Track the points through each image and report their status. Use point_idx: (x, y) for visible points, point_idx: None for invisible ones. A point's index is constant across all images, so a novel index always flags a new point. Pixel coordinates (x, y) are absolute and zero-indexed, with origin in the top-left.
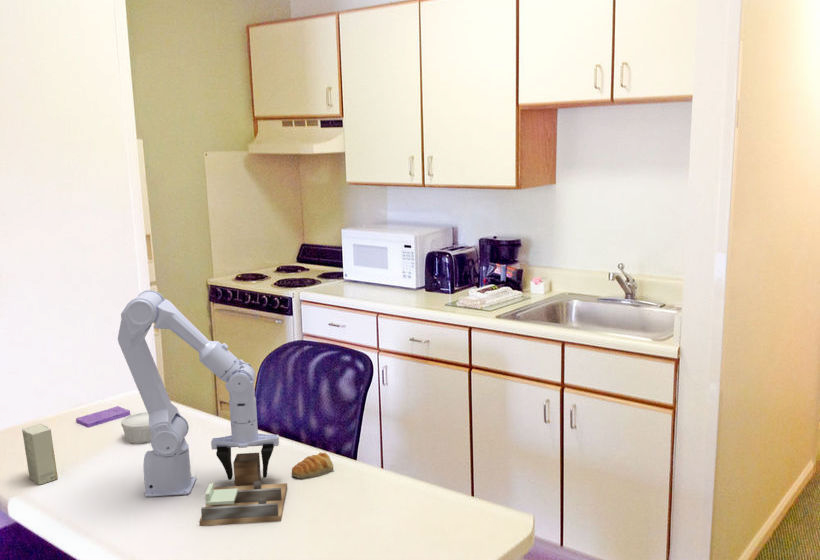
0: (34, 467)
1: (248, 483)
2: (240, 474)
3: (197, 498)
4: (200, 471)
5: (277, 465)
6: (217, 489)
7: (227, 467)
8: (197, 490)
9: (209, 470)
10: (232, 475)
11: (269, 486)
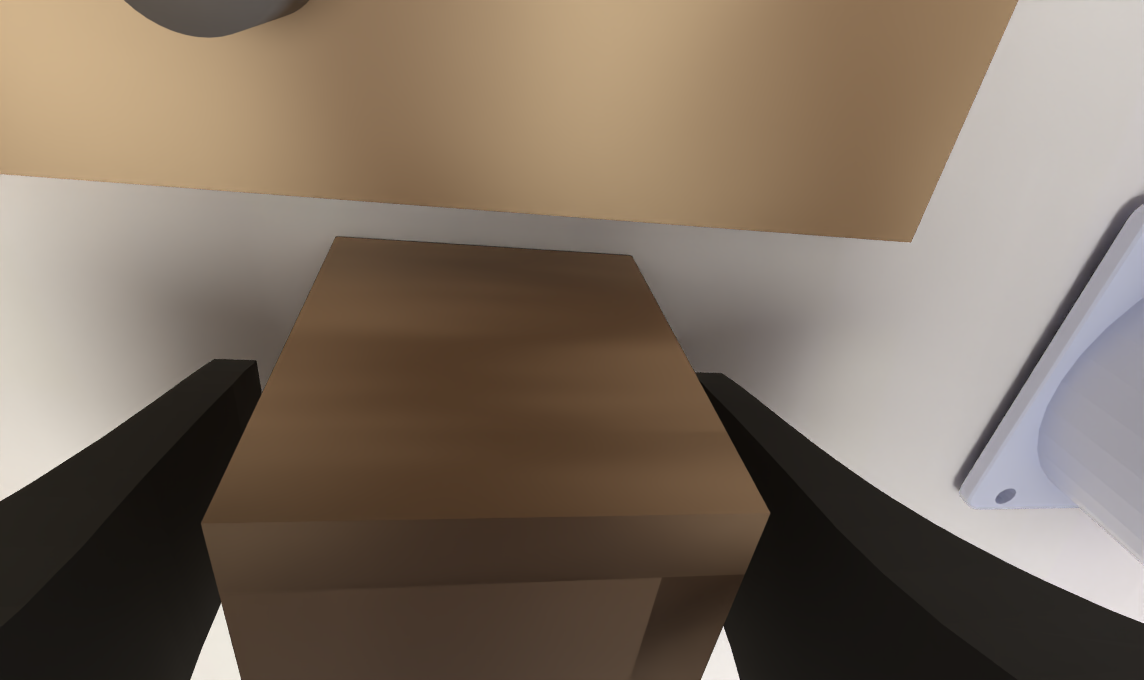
0: None
1: (462, 270)
2: (585, 350)
3: (1089, 81)
4: None
5: None
6: (878, 171)
7: (812, 479)
8: (1014, 289)
9: None
10: None
11: (72, 95)
